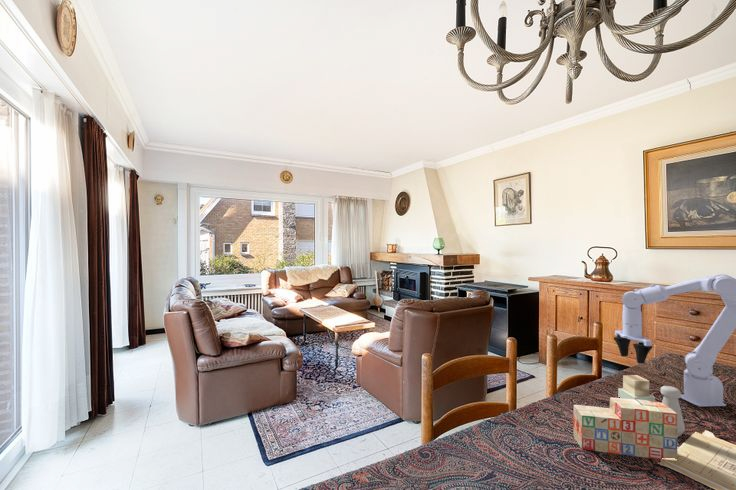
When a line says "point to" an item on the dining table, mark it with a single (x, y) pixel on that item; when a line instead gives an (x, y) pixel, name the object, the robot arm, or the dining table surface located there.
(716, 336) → the robot arm
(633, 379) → the maple cube
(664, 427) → the stack of blocks
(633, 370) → the dining table surface
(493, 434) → the dining table surface
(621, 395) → the base block
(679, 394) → the salt shaker
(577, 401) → the dining table surface
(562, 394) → the dining table surface
